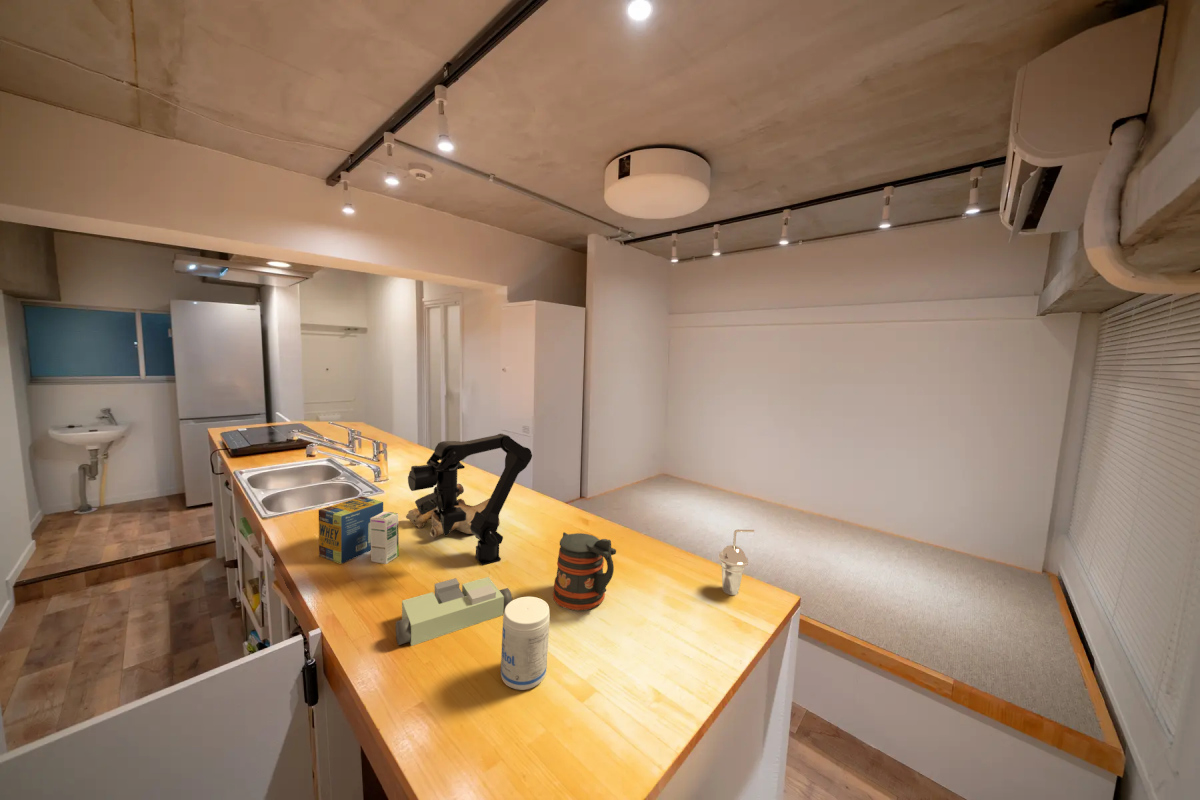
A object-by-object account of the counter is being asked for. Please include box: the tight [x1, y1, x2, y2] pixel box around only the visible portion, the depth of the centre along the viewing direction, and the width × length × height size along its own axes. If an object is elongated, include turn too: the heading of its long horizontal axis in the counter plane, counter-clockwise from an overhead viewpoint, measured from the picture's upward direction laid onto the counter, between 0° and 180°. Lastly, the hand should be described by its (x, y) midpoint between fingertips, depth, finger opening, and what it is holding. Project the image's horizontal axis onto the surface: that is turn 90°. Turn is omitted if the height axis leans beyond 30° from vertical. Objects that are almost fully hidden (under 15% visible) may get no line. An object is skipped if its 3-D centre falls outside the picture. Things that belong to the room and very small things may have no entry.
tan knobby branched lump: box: [405, 483, 500, 539], centre depth 156 cm, size 13×31×25 cm
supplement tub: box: [500, 596, 551, 691], centre depth 85 cm, size 10×10×15 cm
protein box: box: [318, 495, 384, 565], centre depth 133 cm, size 10×15×16 cm
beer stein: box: [552, 532, 617, 611], centre depth 113 cm, size 19×15×20 cm
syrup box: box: [370, 511, 400, 565], centre depth 129 cm, size 6×6×14 cm
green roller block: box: [395, 576, 513, 647], centre depth 103 cm, size 27×11×6 cm, turn 126°
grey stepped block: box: [434, 577, 465, 604], centre depth 106 cm, size 6×8×6 cm
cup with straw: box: [717, 529, 755, 596], centre depth 121 cm, size 8×9×20 cm
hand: (446, 534), depth 122 cm, fingers closed
